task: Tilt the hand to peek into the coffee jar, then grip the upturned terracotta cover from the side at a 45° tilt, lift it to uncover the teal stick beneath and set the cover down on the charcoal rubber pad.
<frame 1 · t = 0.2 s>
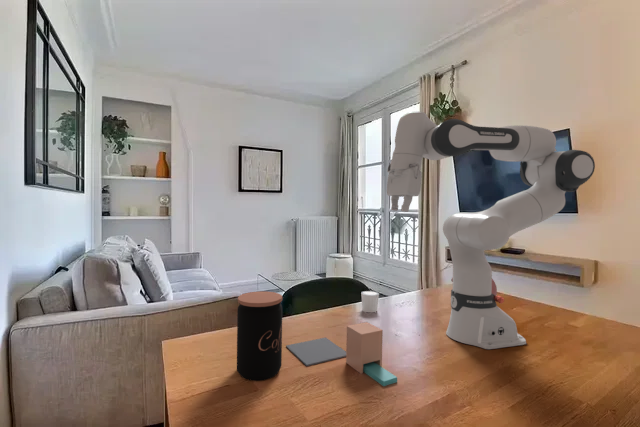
hand: (399, 211, 100), 39 cm above the table, tool pointing down, fingers open, 8 cm apart
balloon: (470, 306, 137), on the table
cover: (363, 365, 83), on the table
pad: (317, 351, 91), on the table
coffee jar: (259, 371, 79), on the table
white cylinder: (369, 311, 128), on the table
stick: (373, 374, 80), on the table
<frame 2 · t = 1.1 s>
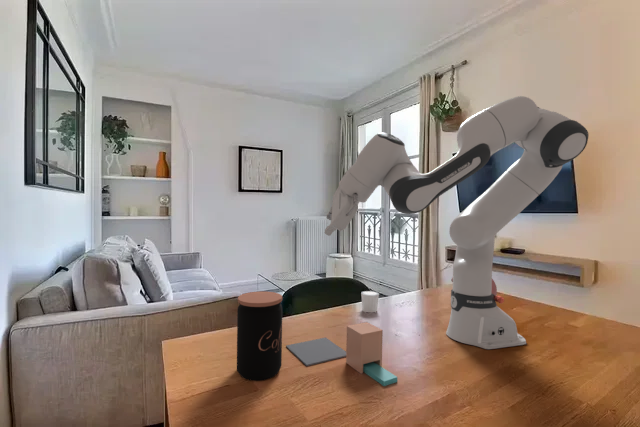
hand: (327, 225, 93), 35 cm above the table, tool tilted 40°, fingers open, 8 cm apart
nothing on the table moved.
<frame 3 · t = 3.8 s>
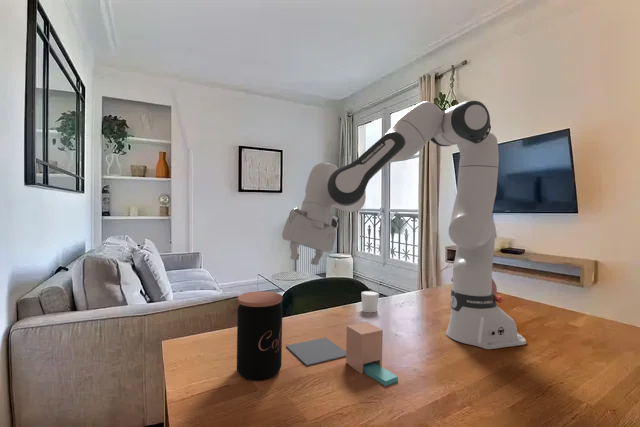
hand: (304, 262, 95), 24 cm above the table, tool tilted 15°, fingers open, 8 cm apart
nothing on the table moved.
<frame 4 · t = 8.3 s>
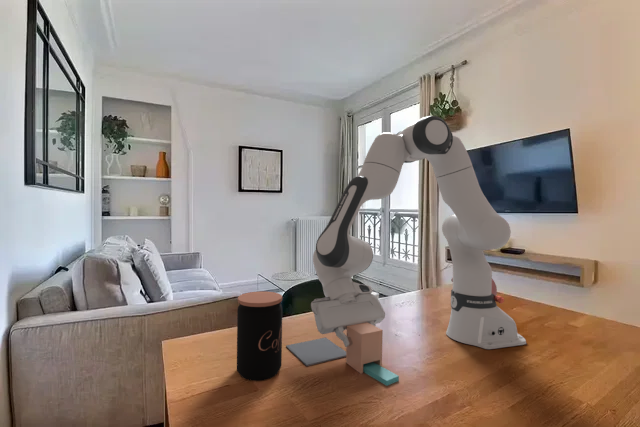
hand: (362, 342, 84), 5 cm above the table, tool tilted 45°, fingers closed on cover, 6 cm apart
cover: (363, 365, 83), on the table, touching gripper
everything else where it was.
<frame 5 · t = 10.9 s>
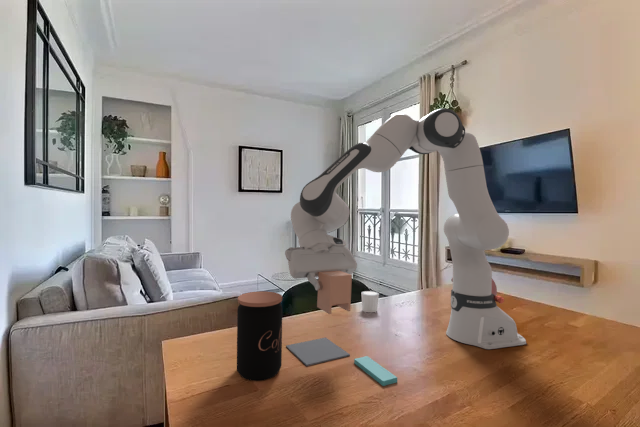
hand: (332, 287, 88), 18 cm above the table, tool tilted 45°, fingers closed on cover, 6 cm apart
cover: (333, 308, 87), point 13 cm above the table, touching gripper
when the fingers open (7 cm above the table, at t = 13.7 s): cover drops 2 cm, resting on pad.
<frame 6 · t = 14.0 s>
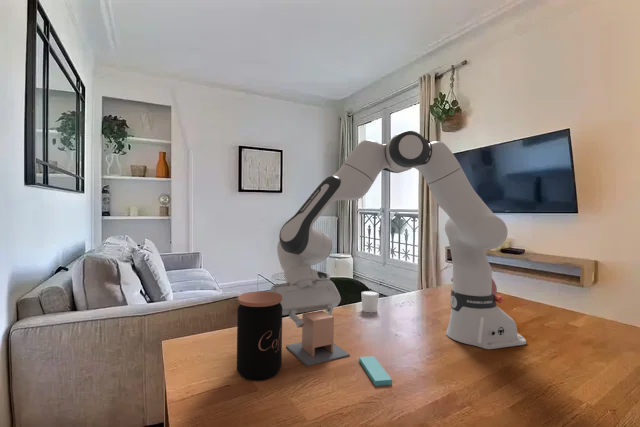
hand: (316, 323, 92), 7 cm above the table, tool tilted 45°, fingers open, 8 cm apart
cover: (317, 349, 91), resting on pad
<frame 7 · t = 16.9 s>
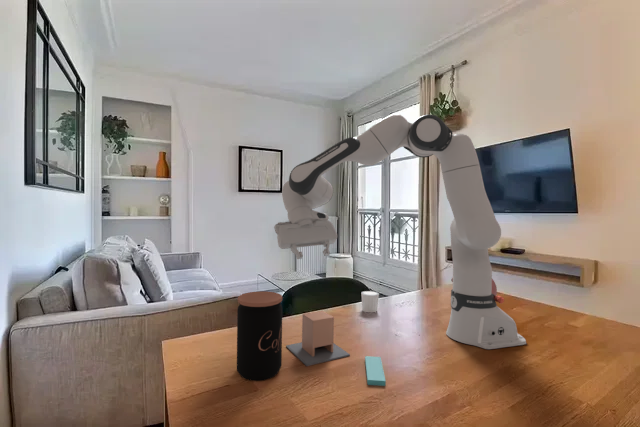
hand: (313, 256, 105), 24 cm above the table, tool tilted 35°, fingers open, 8 cm apart
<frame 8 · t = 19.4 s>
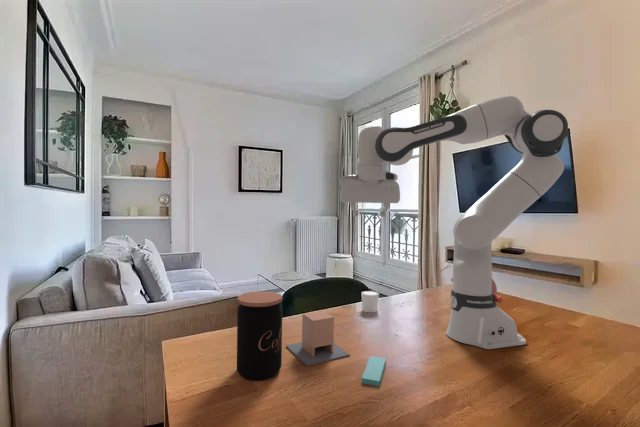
hand: (369, 216, 111), 37 cm above the table, tool pointing down, fingers open, 8 cm apart
at the end: cover inside the target area on the pad (0.1 cm from its centre), point 0.4 cm above the pad's base; cover tilted 0°; stick moved 0.6 cm from its start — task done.
